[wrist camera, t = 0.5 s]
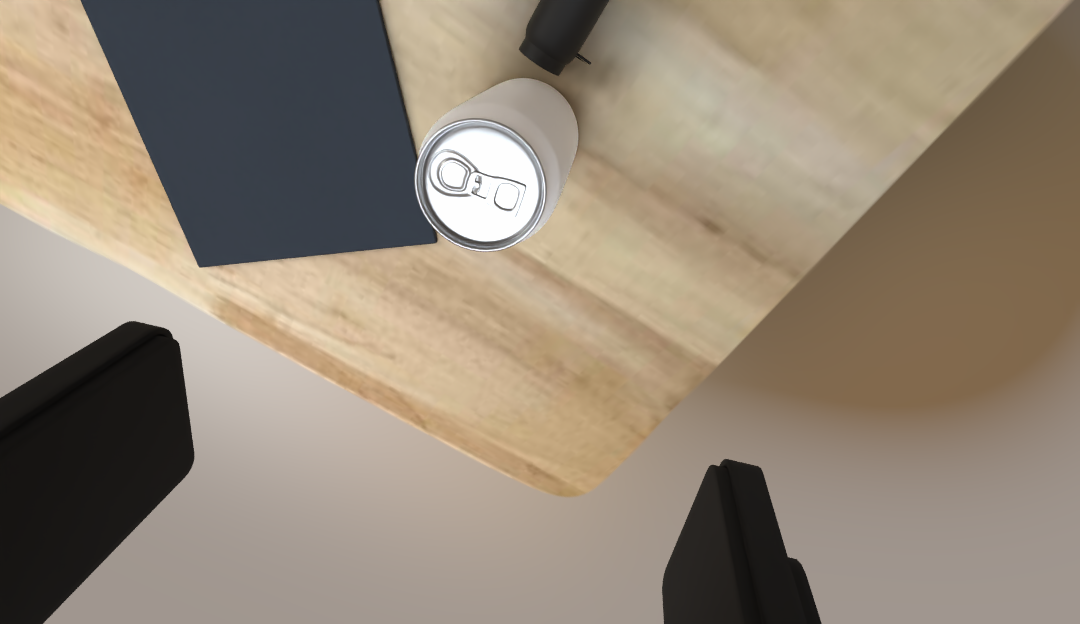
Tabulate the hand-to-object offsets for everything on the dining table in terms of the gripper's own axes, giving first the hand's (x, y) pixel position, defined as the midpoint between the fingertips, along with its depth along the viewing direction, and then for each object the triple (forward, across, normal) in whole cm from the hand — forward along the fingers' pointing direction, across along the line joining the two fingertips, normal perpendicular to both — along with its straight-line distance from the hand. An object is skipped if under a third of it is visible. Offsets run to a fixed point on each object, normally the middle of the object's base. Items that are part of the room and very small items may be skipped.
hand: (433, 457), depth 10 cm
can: (+28, +3, 0) cm, 28 cm away
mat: (+28, +19, +1) cm, 34 cm away
